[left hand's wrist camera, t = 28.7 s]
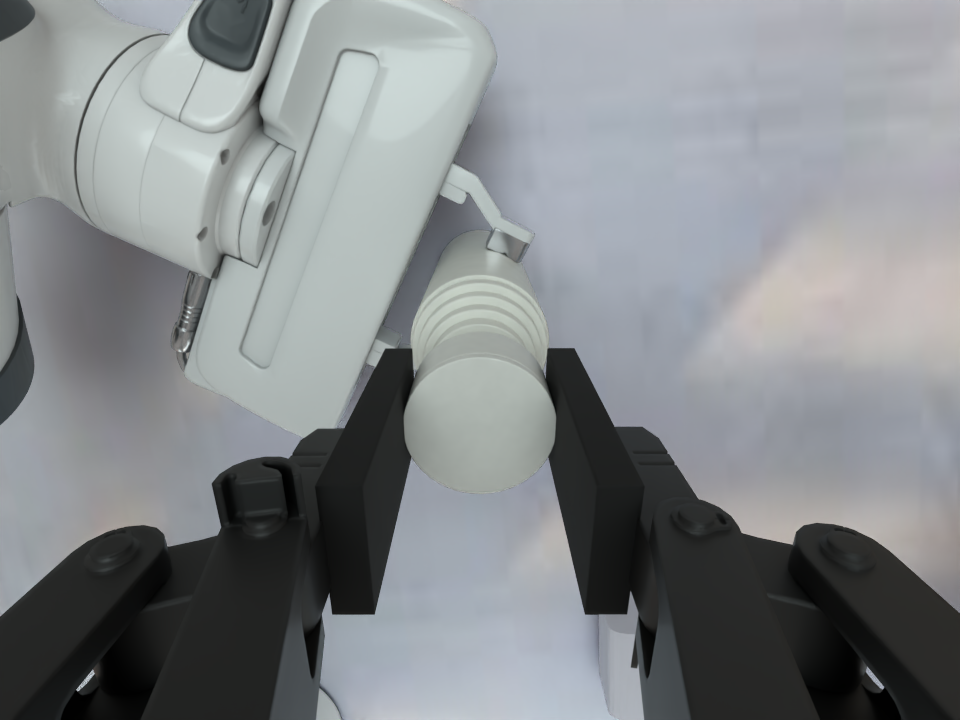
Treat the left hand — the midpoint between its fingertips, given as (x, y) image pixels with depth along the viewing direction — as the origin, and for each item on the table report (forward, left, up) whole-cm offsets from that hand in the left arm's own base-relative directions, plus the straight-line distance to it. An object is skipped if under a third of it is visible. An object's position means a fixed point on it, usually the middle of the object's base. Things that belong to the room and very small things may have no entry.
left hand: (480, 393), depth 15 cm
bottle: (0, 0, -17) cm, 17 cm away
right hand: (0, +1, -11) cm, 11 cm away
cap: (0, 0, +2) cm, 2 cm away
